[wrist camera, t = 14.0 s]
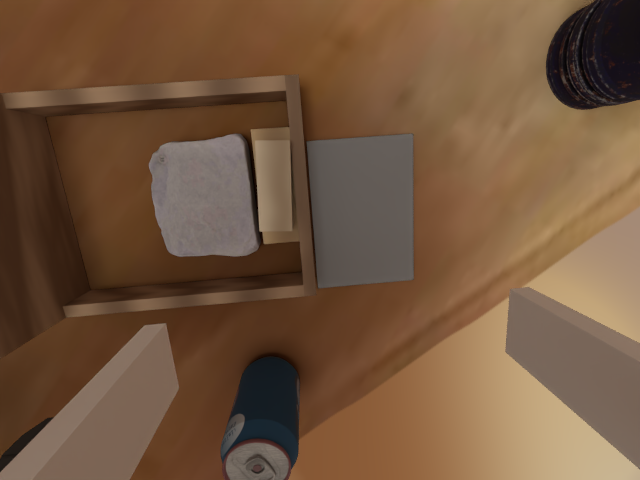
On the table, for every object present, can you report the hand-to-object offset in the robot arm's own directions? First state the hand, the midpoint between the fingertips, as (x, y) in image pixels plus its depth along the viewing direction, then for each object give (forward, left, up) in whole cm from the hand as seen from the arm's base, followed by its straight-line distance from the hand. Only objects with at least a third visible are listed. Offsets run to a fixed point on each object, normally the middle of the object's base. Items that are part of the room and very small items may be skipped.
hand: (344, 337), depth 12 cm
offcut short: (-4, +5, -20) cm, 21 cm away
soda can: (-7, -18, -23) cm, 30 cm away
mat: (+5, +1, -23) cm, 23 cm away
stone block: (-16, +4, -22) cm, 27 cm away
